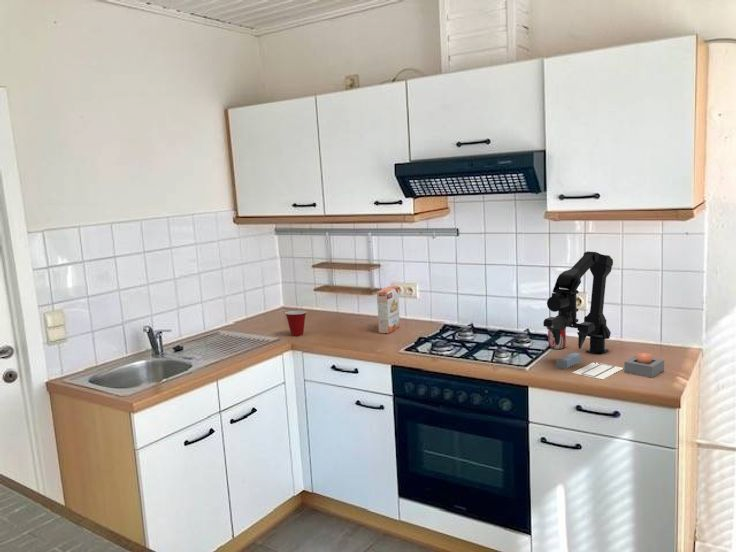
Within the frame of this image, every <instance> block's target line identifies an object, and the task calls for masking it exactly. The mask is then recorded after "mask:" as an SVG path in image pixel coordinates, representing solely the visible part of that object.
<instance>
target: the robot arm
mask: <svg viewBox="0 0 736 552" xmlns="http://www.w3.org/2000/svg"><path fill="white" fill-rule="evenodd" d="M613 265H614V260H613V257H611V255H608V254H601V253H599V252H597V251H589V250H588V251H585V252H584V253H583V255H582V256H581V258H580V259H579V260H578V261H577V262H576V263H575V264H574V265H573V266H572V267H571V268H570V269H566V270H565V271H562V272H561V273H560V274H559V275H558V277H557V278H556V281H555V284H554V286H553V290H552V293H551V296H550V297H548V299H547V301H546V307H547V308H548V309H549V310H550V311H551V312H554V313H555V312H556V313H557V312H558V313H557V315H556V316H555V317H554V316H549V317H547V318H545V319H544V320H543V322H542V323H543V324H542V325H543V327H545V328H546V329H547V330H548V329H549V330H550V331H551V332H552V334H553V336H554V338H555V341H556V344H557V345H559V343H560V330H565V329H566V330H567V328H572V329H577V332H576V334H577V335H578V339H577V340H578V342H577V343H578V349H579V350H581V349H582V347H583V344H584V342H585V341H586V338H587V337H589V348H588V349H586V350H585V351H586V353H592V354H596V353H597V355H602V354H605V353H607V352H609V349H606V340H609V339H610V337H611V335H612V334H611V333H612V332H611V330H610V328H609V327H608V325H607V319H606V317H605V315H604V304H605V303H604V302H605V293H606V283H607V277H608V276H609V274H610V273H611V272H612V268H613ZM588 270H590V273H591V274H592V287H591V296H590V297H591V298H590V308H589V313H588V314H587V315H585V316H584V318H583V322H581V323H579V319H578V318H577V312H579V308H577V295H578V294H579V292H580V291H579V290H578V288H579V286H580V285H581V283H582V280H581V279H582V278H583V276H584V275H585V274H586V273H587V271H588Z"/></svg>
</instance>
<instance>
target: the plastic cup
mask: <svg viewBox="0 0 736 552" xmlns="http://www.w3.org/2000/svg"><path fill="white" fill-rule="evenodd" d="M307 313H308V312H307V310H289V311H285V312H284V314H285V316H286V319H287V323H288V328H289V331H290V334H291V336H292V337H301V336H303V335H304V330H305V320H306V314H307ZM300 335H301V336H300Z"/></svg>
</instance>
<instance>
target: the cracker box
mask: <svg viewBox="0 0 736 552" xmlns="http://www.w3.org/2000/svg"><path fill="white" fill-rule="evenodd" d="M376 297H377V299H376V301H377V321H378V322H377V323H378V325H377V326H378V333H379V334H385V333H387V334H390V332H391V333H392V332H394V331H396V330H397V329H399V328H400V327H399V326H400V304H399V303H400V302H399V301H400V297H399V287H398V286H387V287H384V288H382V289H380V290H378V291H376ZM398 327H399V328H398ZM395 329H396V330H395ZM393 330H394V331H393Z"/></svg>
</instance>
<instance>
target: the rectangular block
mask: <svg viewBox="0 0 736 552" xmlns="http://www.w3.org/2000/svg"><path fill="white" fill-rule="evenodd" d="M581 357H582V355H581V353H577V352H571V353H569V354H567V355H565V356H562V357H560V358H558V359H556V369H559V368H560V370H566V369H565V368H567V369H568V367H569V368H571V367H573V366H575V365H577V364H579V363H581V362H582V360H581V359H582V358H581ZM580 361H581V362H580ZM578 362H579V363H578ZM576 363H577V364H576ZM574 364H575V365H574ZM572 365H573V366H572ZM570 366H571V367H570Z"/></svg>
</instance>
